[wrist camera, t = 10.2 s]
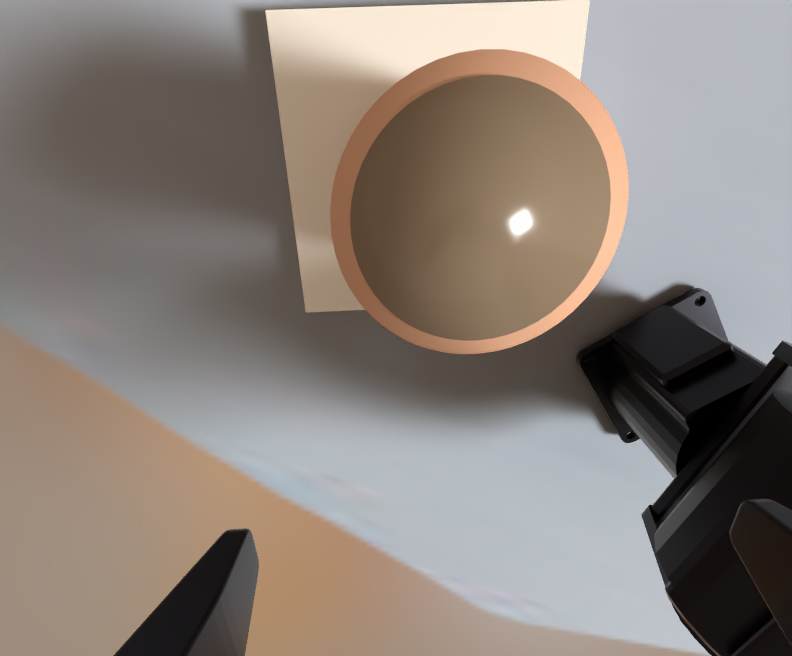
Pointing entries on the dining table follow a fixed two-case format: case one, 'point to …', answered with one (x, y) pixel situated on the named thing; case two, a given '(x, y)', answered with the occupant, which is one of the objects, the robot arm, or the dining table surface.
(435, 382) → the dining table surface
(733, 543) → the robot arm
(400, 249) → the pot
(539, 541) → the dining table surface
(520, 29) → the tile
